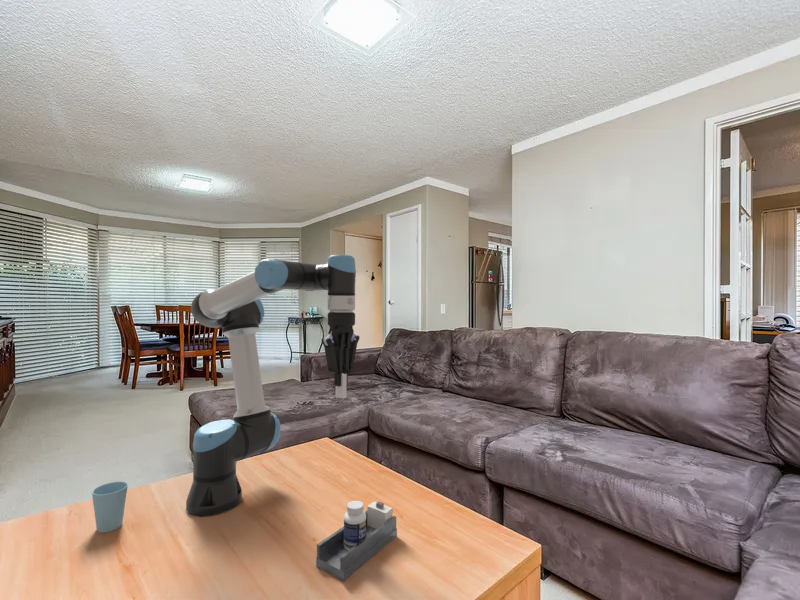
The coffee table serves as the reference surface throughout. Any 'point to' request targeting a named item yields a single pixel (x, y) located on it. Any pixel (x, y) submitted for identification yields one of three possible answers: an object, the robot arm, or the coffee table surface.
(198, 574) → the coffee table surface
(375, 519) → the mounted module
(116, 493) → the cup
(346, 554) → the rail
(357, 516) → the pill bottle
